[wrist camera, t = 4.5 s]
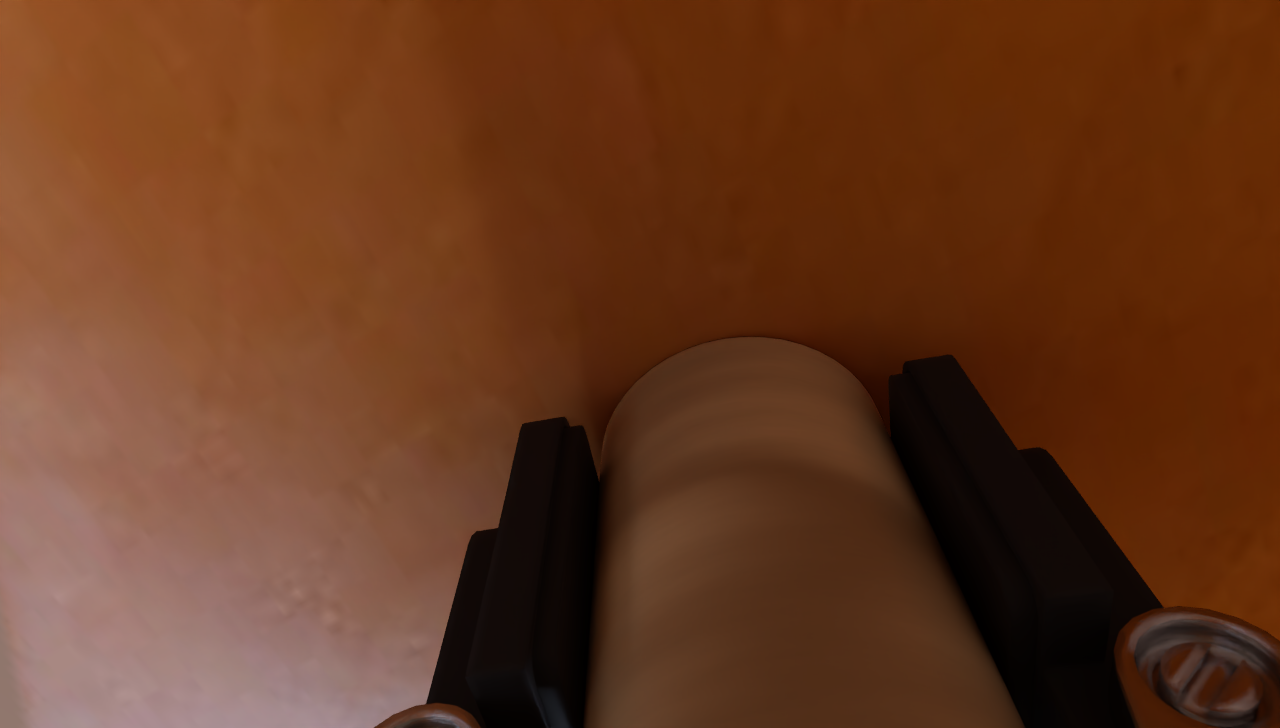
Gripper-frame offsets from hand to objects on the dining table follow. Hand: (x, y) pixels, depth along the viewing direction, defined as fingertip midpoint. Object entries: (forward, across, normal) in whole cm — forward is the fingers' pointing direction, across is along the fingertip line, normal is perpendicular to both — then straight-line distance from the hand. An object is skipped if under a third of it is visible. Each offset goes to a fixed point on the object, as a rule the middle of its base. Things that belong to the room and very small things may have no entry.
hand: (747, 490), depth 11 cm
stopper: (+1, 0, 0) cm, 1 cm away
